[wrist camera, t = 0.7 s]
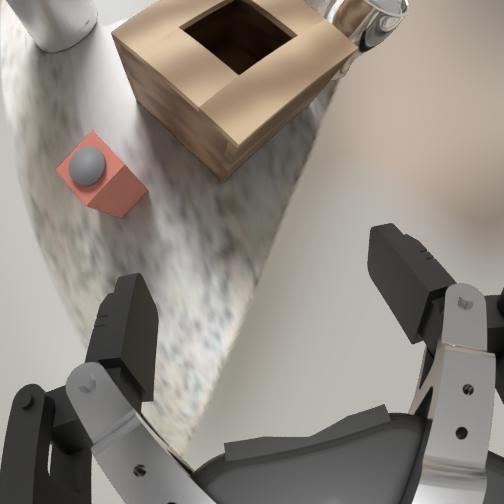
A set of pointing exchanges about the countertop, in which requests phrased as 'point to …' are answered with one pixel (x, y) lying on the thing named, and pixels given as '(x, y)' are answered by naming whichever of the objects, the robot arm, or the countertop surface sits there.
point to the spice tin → (101, 177)
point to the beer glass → (365, 23)
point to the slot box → (228, 70)
